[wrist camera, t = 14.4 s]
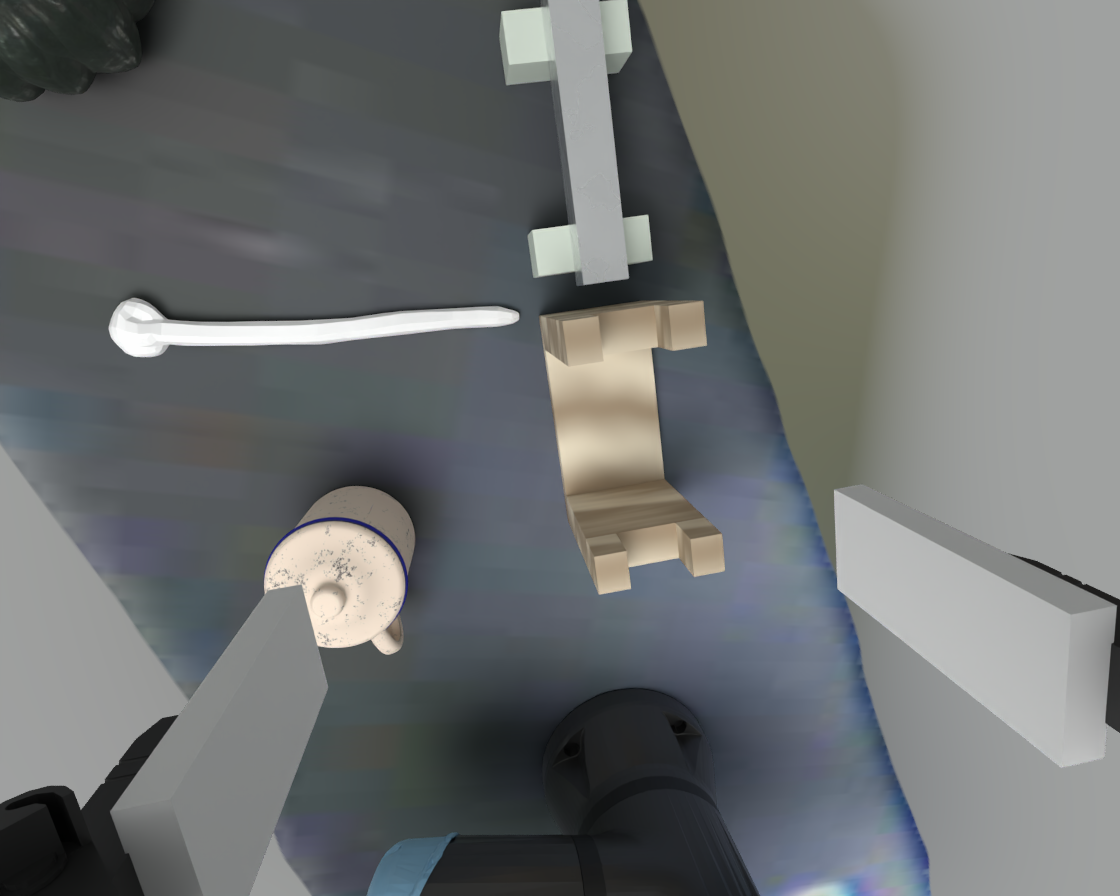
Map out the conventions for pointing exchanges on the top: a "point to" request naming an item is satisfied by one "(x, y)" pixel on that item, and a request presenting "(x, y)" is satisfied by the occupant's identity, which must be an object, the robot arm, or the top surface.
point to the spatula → (285, 327)
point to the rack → (622, 438)
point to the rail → (585, 138)
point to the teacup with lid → (349, 567)
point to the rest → (530, 65)
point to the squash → (66, 44)
